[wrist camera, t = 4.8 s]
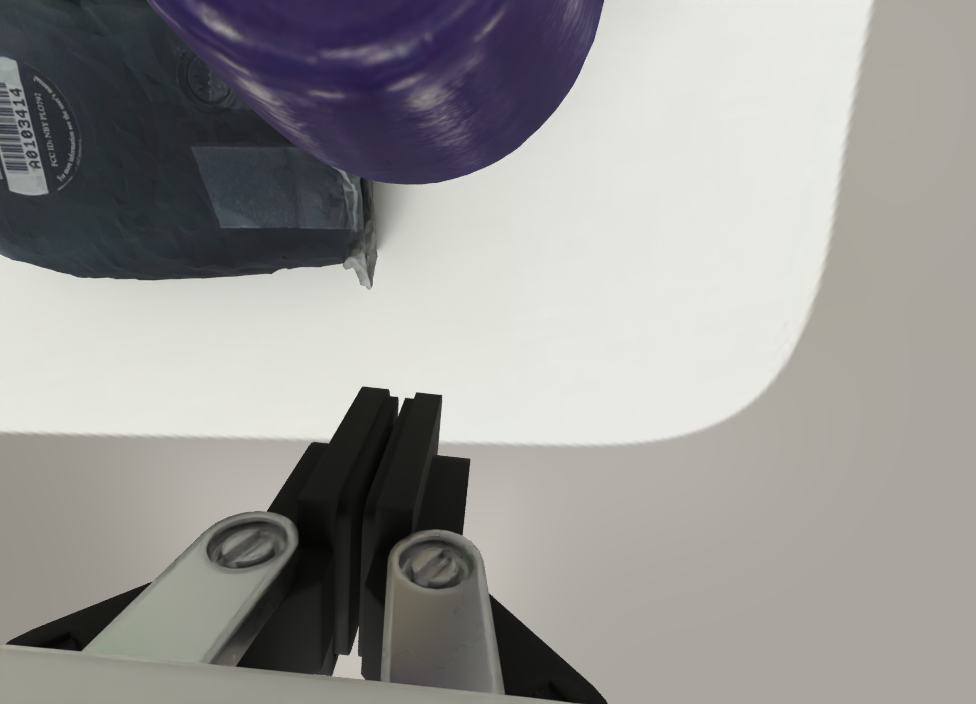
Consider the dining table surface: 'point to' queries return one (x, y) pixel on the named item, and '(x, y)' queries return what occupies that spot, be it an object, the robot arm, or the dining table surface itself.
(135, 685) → the robot arm
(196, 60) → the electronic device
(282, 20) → the toy lamp
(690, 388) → the dining table surface
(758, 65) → the dining table surface
